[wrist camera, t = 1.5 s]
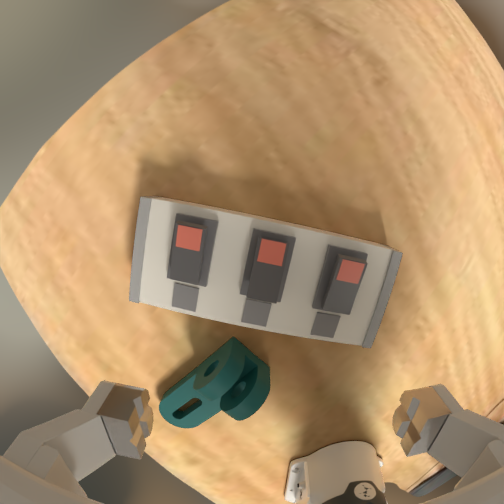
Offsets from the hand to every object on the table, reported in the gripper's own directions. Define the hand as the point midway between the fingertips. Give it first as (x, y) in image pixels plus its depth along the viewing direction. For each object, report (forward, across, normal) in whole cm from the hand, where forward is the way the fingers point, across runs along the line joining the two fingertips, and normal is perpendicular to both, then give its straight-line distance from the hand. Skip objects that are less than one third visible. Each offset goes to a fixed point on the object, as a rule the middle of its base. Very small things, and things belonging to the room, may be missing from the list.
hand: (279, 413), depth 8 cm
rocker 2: (+21, 0, +2) cm, 21 cm away
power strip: (+27, 0, +4) cm, 28 cm away
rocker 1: (+22, +7, 0) cm, 23 cm away
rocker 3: (+21, -8, +3) cm, 23 cm away
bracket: (+28, +7, +22) cm, 36 cm away
